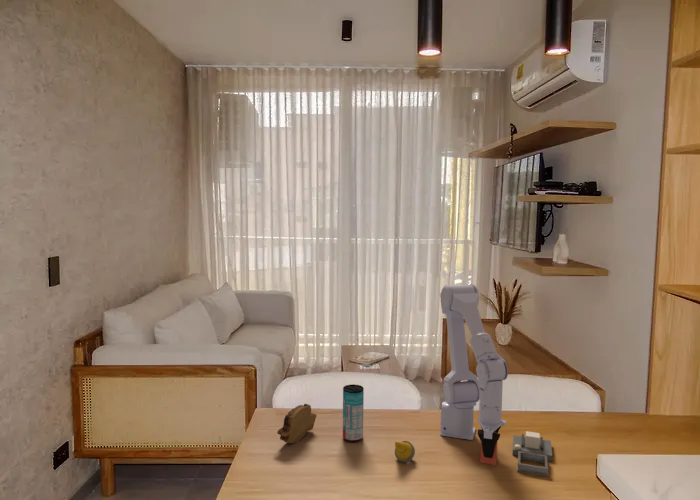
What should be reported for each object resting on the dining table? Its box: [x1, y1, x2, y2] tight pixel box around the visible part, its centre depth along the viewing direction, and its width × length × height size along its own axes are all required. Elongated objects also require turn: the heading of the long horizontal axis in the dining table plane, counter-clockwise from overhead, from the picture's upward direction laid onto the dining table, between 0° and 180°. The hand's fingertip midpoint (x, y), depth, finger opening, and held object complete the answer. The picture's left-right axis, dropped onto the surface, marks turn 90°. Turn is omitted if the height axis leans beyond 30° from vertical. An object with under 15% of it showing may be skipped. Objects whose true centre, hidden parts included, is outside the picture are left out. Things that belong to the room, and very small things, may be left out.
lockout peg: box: [479, 432, 498, 466], centre depth 137 cm, size 4×4×7 cm
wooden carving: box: [277, 403, 317, 444], centre depth 148 cm, size 16×5×10 cm, turn 155°
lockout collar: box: [517, 451, 549, 477], centre depth 134 cm, size 7×7×2 cm
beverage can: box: [342, 384, 365, 443], centre depth 148 cm, size 6×6×15 cm
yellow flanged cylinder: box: [394, 440, 416, 463], centre depth 136 cm, size 5×5×10 cm
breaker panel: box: [512, 433, 553, 462], centre depth 143 cm, size 10×9×2 cm
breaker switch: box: [525, 430, 541, 449], centre depth 142 cm, size 4×3×3 cm
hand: (488, 453), depth 137 cm, fingers closed on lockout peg, 4 cm apart
